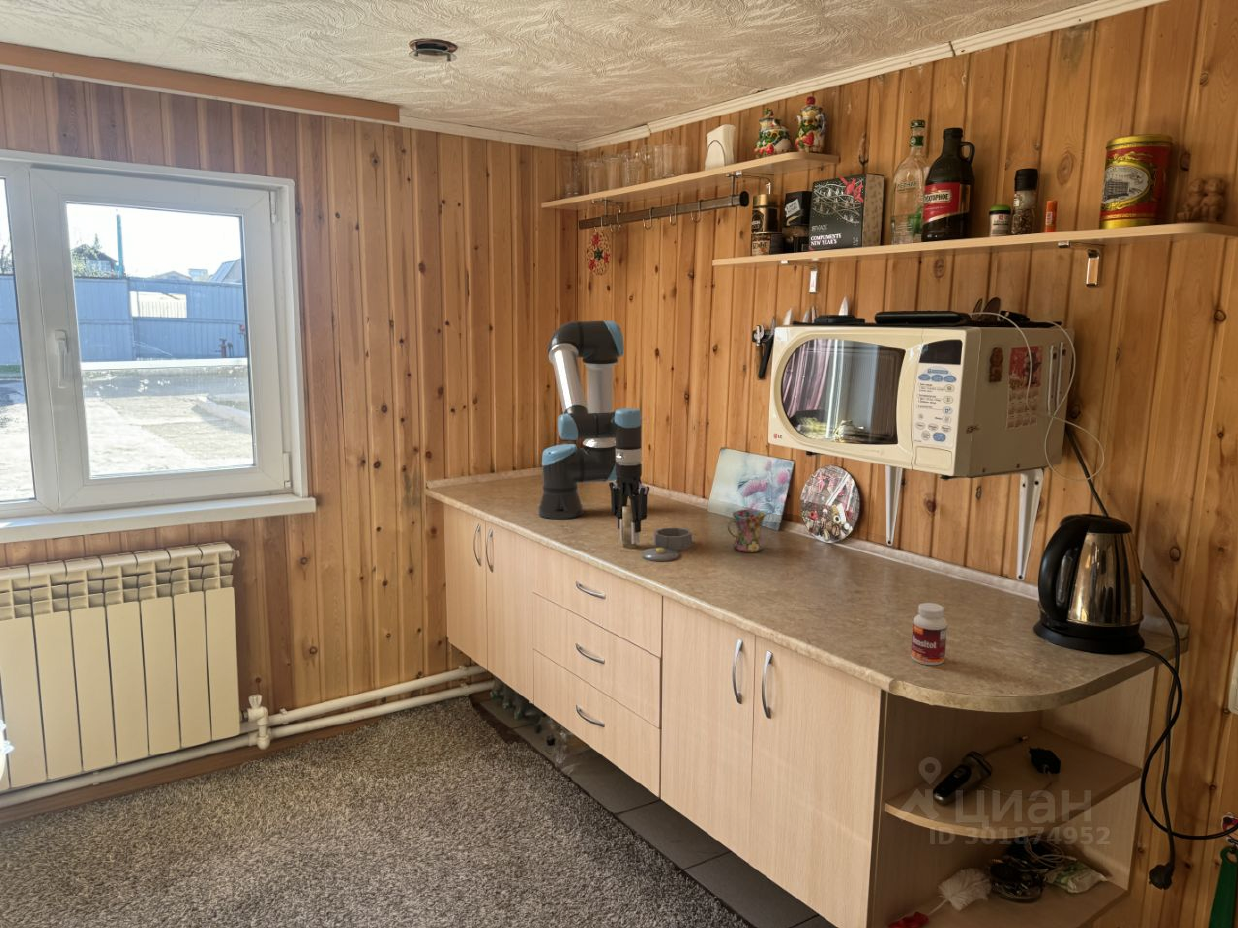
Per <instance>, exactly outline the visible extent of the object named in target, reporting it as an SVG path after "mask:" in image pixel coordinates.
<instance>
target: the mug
mask: <svg viewBox="0 0 1238 928" xmlns="http://www.w3.org/2000/svg"><path fill="white" fill-rule="evenodd" d="M732 517H733V519H734V520H733V519H732V520H730V521H728V523H727V526H726V527H727V530H728V533H729V534H730V535H731V536H732V537H733V538H736V539H735V541H734V544H733V548H734V549H735V550H737V551H739V552H745V553H746V552H747V553H754V552H755V553H756V552H759V551H761V550H763V548H764V545H763V543H762V537H761V535H762V534H761V533H762V532H761V530H762V526H763V525H762V524H763V522H764V520H765V517H766V513H765V512H764V511H761V510H755V509H740V510H735V511H733V512H732ZM732 523H735V526H736V535H735V534H733V532H732V531H731V528H730V526H731V524H732Z"/></svg>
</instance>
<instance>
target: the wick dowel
mask: <svg viewBox="0 0 1238 928" xmlns="http://www.w3.org/2000/svg"><path fill="white" fill-rule="evenodd" d="M622 518H623V541H622V548H624V549H627V550H628V549H629V550H630V549H636V548H637V543H635V544H631V522H632V521H633V514H632V508H631V504H630V505H629V504H627V505H626V506H623V507H622Z"/></svg>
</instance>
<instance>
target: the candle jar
mask: <svg viewBox="0 0 1238 928" xmlns="http://www.w3.org/2000/svg"><path fill="white" fill-rule="evenodd" d="M691 531H692V530H690V529H688V528H683V527H676V526H675V527H661V528H658V529H655V530H653V545H654V548H668V549H673V550H676V551H685V550H688V549H690V548H692V546H693V533H692V532H691Z"/></svg>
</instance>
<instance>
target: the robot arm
mask: <svg viewBox="0 0 1238 928" xmlns="http://www.w3.org/2000/svg"><path fill="white" fill-rule="evenodd" d="M624 347H625V346H624V338H623V333H622V330H621V327H620V325H619V323H618V322H616V321H614V320H604V319H603V320H602V319H601V320H582V321H581V320H579V321H577V320H572V321H568V322H565V323H564V324H562V325H560V326H559V327H558V328H557V329H556V330H555V331H554V332H553V333H552V335H551V336H550V339H549V341H548V345H547V355H548V360H549V362H550V364H552V365H553V370H554V374H555V380H556V384H557V391H558V396H559V400H560V405H561V410H562V414H559V416H558V419H557V427H558V435H559V437H560V439H562V440H569V441H570V440H572V441H573V440H574V441H575V440H584V441H582V448H581V447H580V448H578V446H577V444H574V443H569V444H568V443H567V444H566V443H563V444H558V445H552V446H550V447H547V448H545V449H544V450H543V451H542V455H541V456H542V457H541V458H542V459H541V465H542V466H541V467H542V495H541V498H540V503H539V504H540V505H539V506H538V516H539V517H541V518H544V519H550V520H566V519H573V518H578V517H581V516H583V514H584V506H583V504H582V502H581V498H580V494H579V490H578V484H581V483H582V484H583V483H601V482H603V483H606V482H609V484H608V485H609V486H608V487H609V490H610V501H611V515H612V516H613V517H614V516H615V517H616V518H617V529H618V530H619V541H620V542H623V518H622V507H623V506H626V505H628V499H629V500H630V505H631V508H632V514H633V521H632V522H631V544H635V543H636V544H638V543H640V533H641V531H642V522H643V521H644V520H647V519H648V518H647V517H648V494H649V491H650V487H649V486H645V485H643V483H642V480H641V478H642V474H643V464H642V461H643V457H642V455H643V452H642V450H643V449H642V446H643V445H642V444H643V443H642V429H643V428H642V425H643V424H642V423H643V419H642V412H641V410H640V409H638V408H633V407H632V408H630V407H627V408H626V407H625V408H618V409H617V410H614V368H615V366H617V364H618V363H619V358H620V357H623V355H624ZM579 358H582V363H583V364H584V366H585V367H586V368H587V369H586V371H587V373H586V374H587V376H586V378H587V380H586V381H587V382H586V383H587V386H586V387H587V388H586V389H587V390H586V392H587V395H586V394H585V390H584V386H583V381H582V376H581V373H580V368H579V363H578V359H579ZM586 396H587V397H586Z"/></svg>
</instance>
